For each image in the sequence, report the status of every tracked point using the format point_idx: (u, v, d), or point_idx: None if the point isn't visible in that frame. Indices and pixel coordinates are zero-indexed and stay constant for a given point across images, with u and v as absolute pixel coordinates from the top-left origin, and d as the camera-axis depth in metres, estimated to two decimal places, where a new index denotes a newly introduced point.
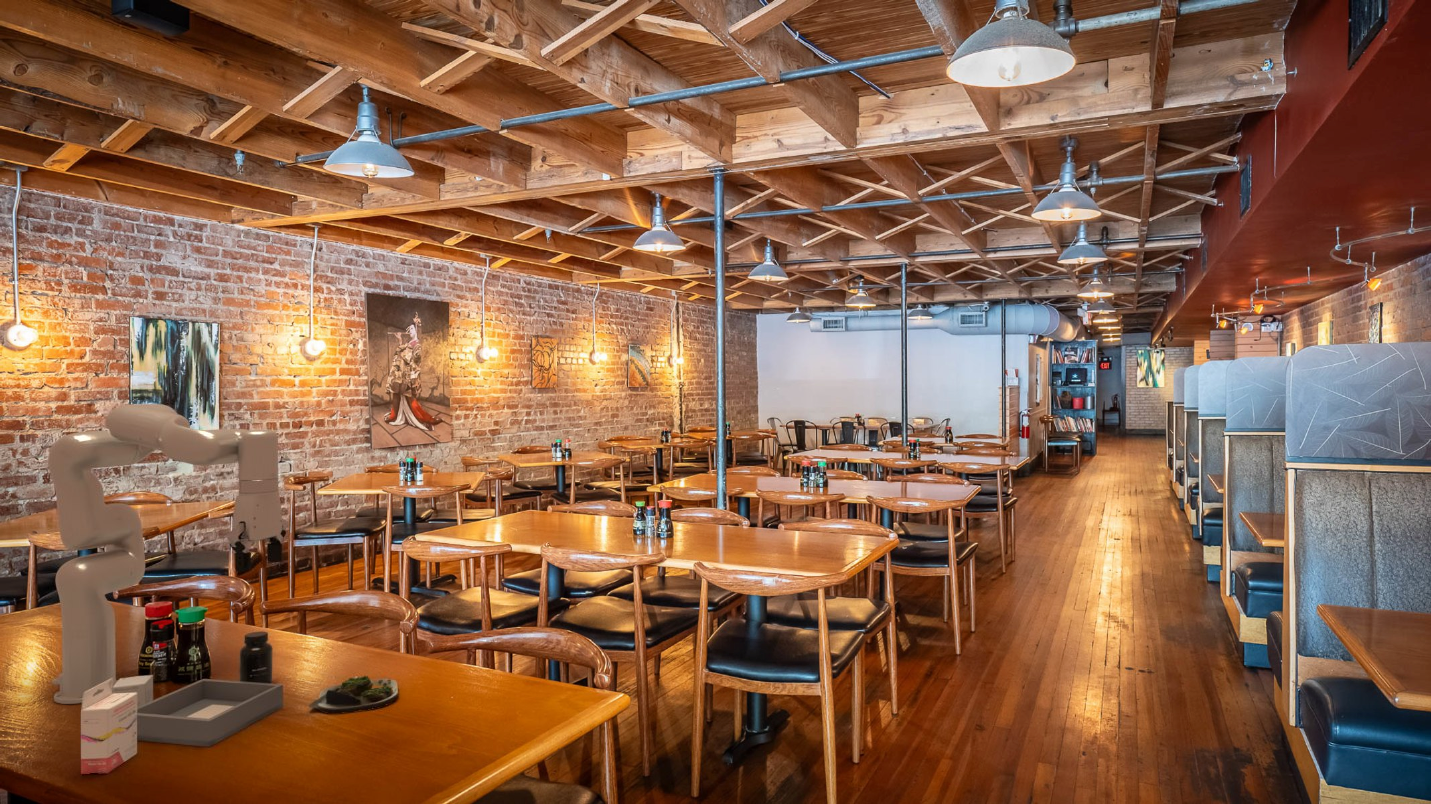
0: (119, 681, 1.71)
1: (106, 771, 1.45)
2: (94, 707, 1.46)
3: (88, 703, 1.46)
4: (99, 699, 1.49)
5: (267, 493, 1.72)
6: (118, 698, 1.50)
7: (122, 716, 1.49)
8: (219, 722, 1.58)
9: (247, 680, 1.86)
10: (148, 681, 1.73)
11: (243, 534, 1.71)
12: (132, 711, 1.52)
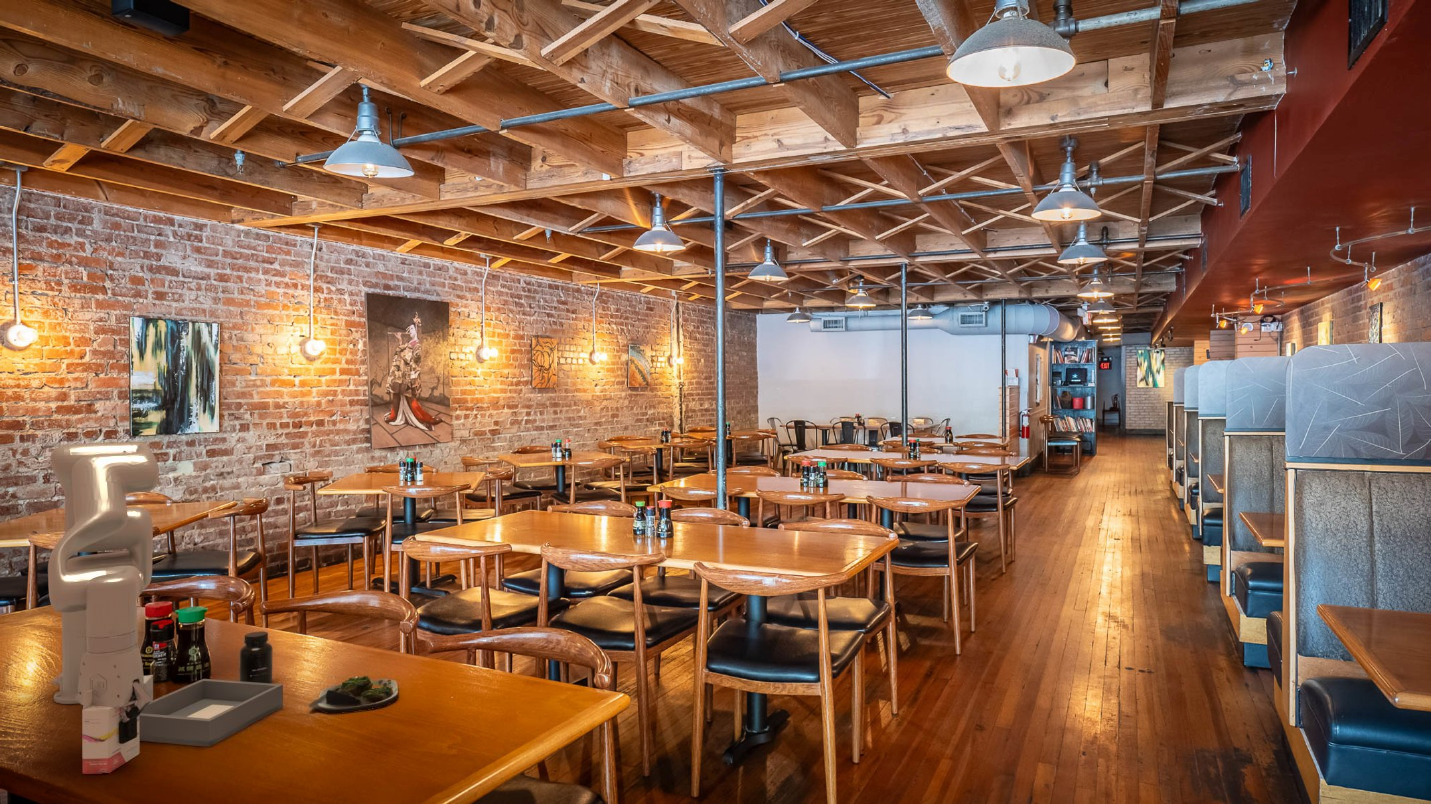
0: None
1: (107, 772, 1.45)
2: (95, 707, 1.46)
3: (90, 703, 1.46)
4: None
5: None
6: None
7: None
8: (219, 722, 1.58)
9: (247, 680, 1.86)
10: (148, 681, 1.73)
11: None
12: None
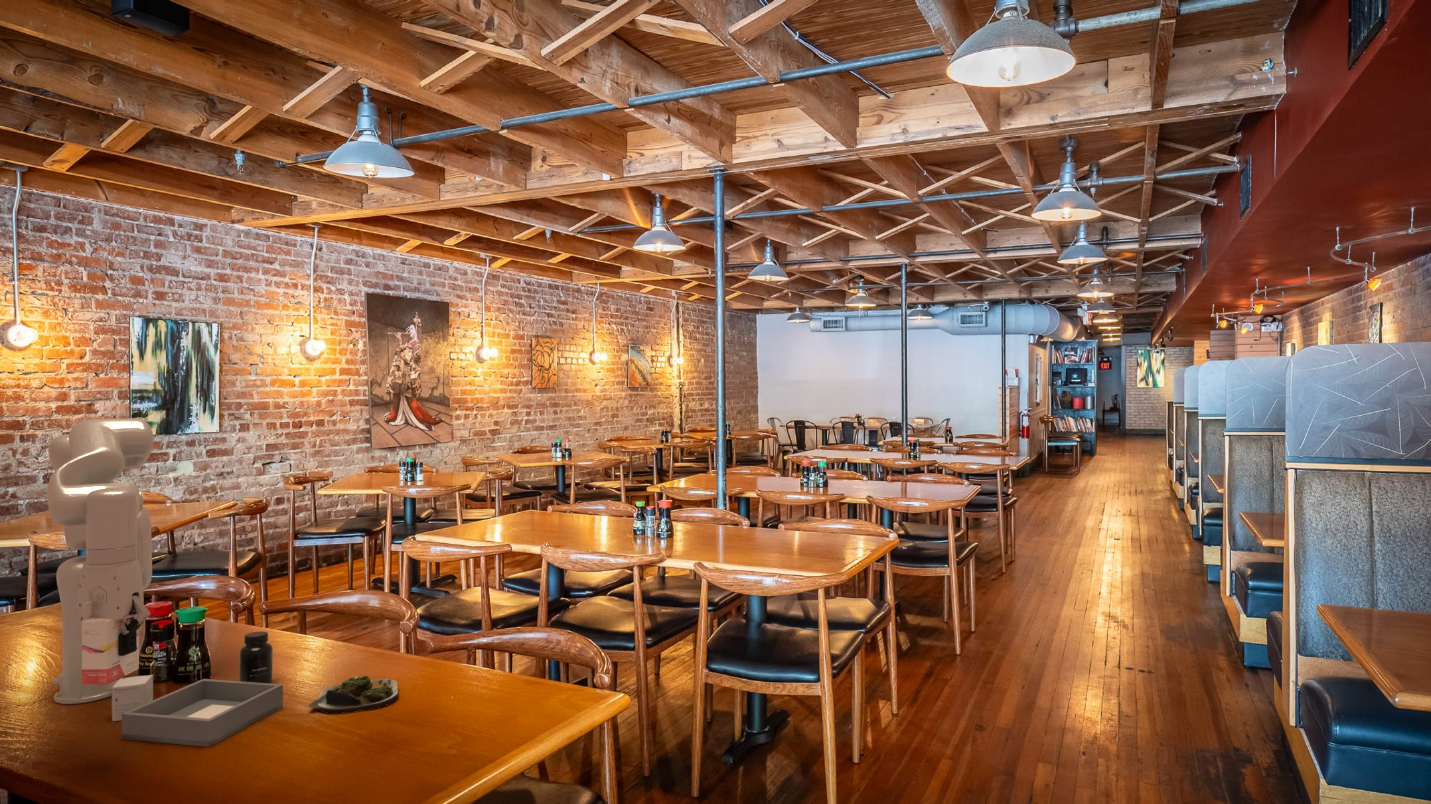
0: (119, 681, 1.71)
1: (106, 683, 1.45)
2: (95, 618, 1.46)
3: (89, 615, 1.47)
4: None
5: None
6: None
7: None
8: (219, 722, 1.58)
9: (247, 680, 1.86)
10: (148, 681, 1.73)
11: None
12: None
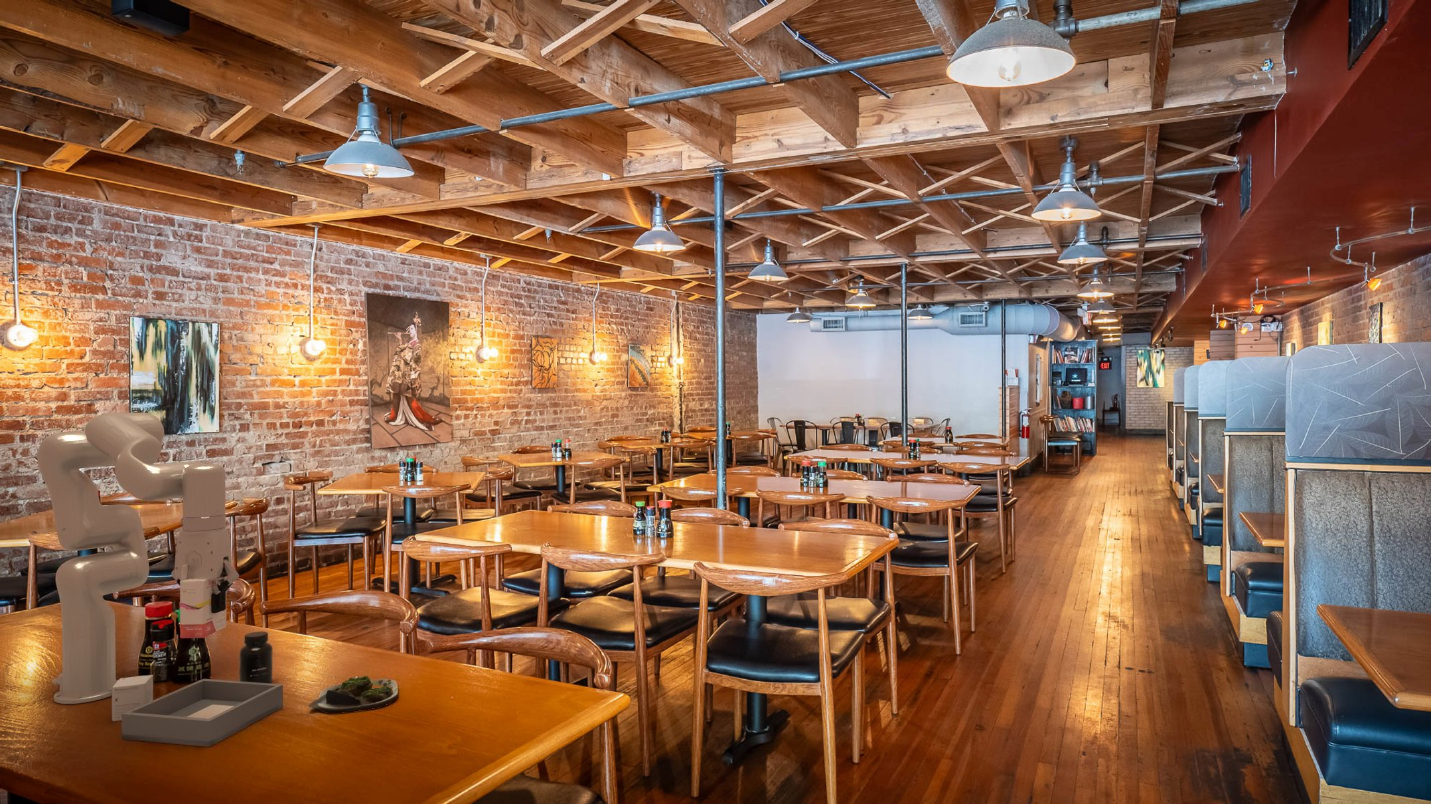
0: (119, 681, 1.71)
1: (202, 636, 1.63)
2: (191, 579, 1.64)
3: (186, 576, 1.65)
4: None
5: None
6: None
7: None
8: (219, 722, 1.58)
9: (247, 680, 1.86)
10: (148, 681, 1.73)
11: None
12: None
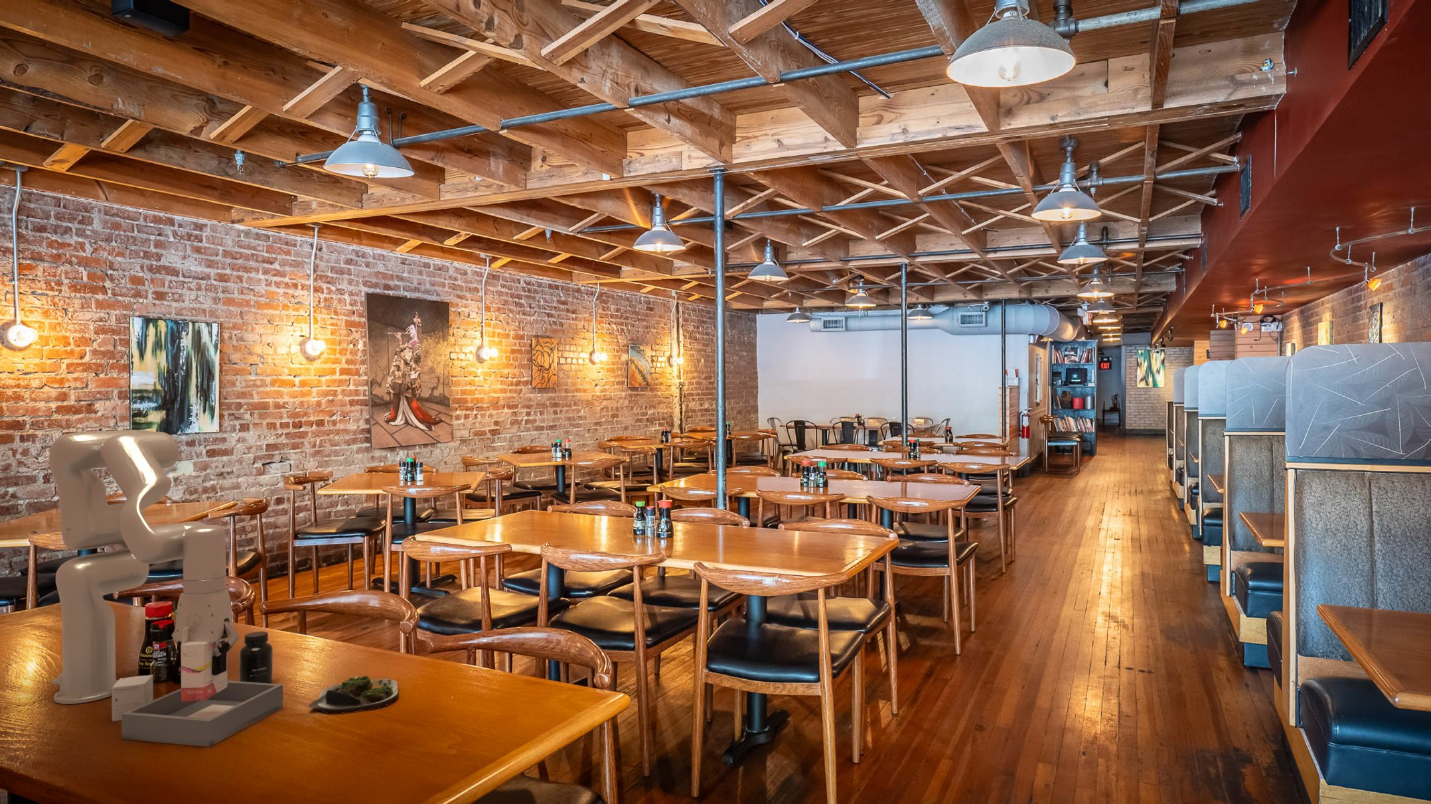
0: (119, 681, 1.71)
1: (203, 699, 1.63)
2: (192, 642, 1.64)
3: (187, 639, 1.65)
4: None
5: None
6: None
7: None
8: (219, 722, 1.58)
9: (248, 680, 1.86)
10: (148, 681, 1.73)
11: None
12: None
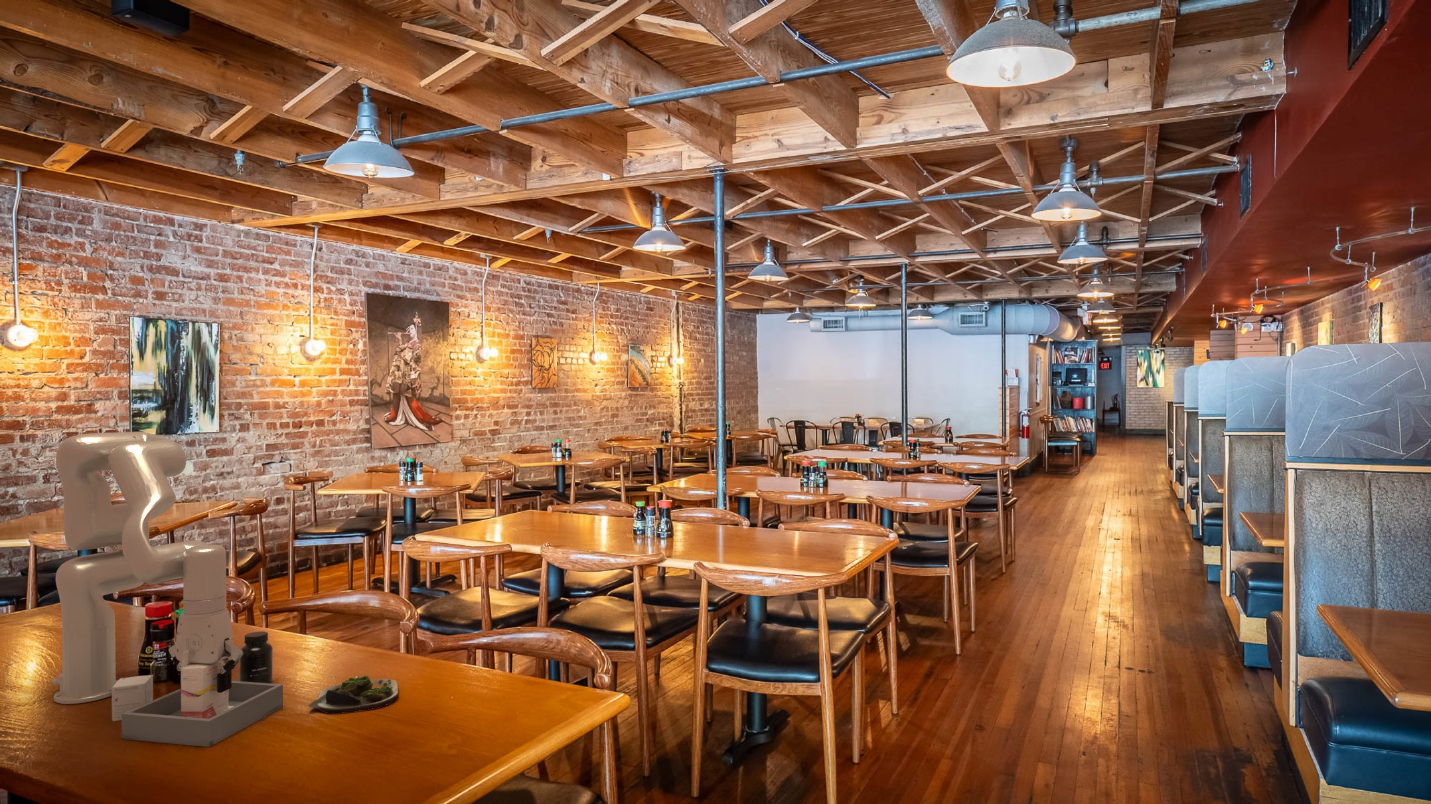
0: (119, 681, 1.71)
1: None
2: (192, 666, 1.64)
3: (187, 662, 1.65)
4: None
5: None
6: None
7: (215, 675, 1.67)
8: (219, 722, 1.58)
9: (247, 680, 1.86)
10: (148, 681, 1.73)
11: None
12: None
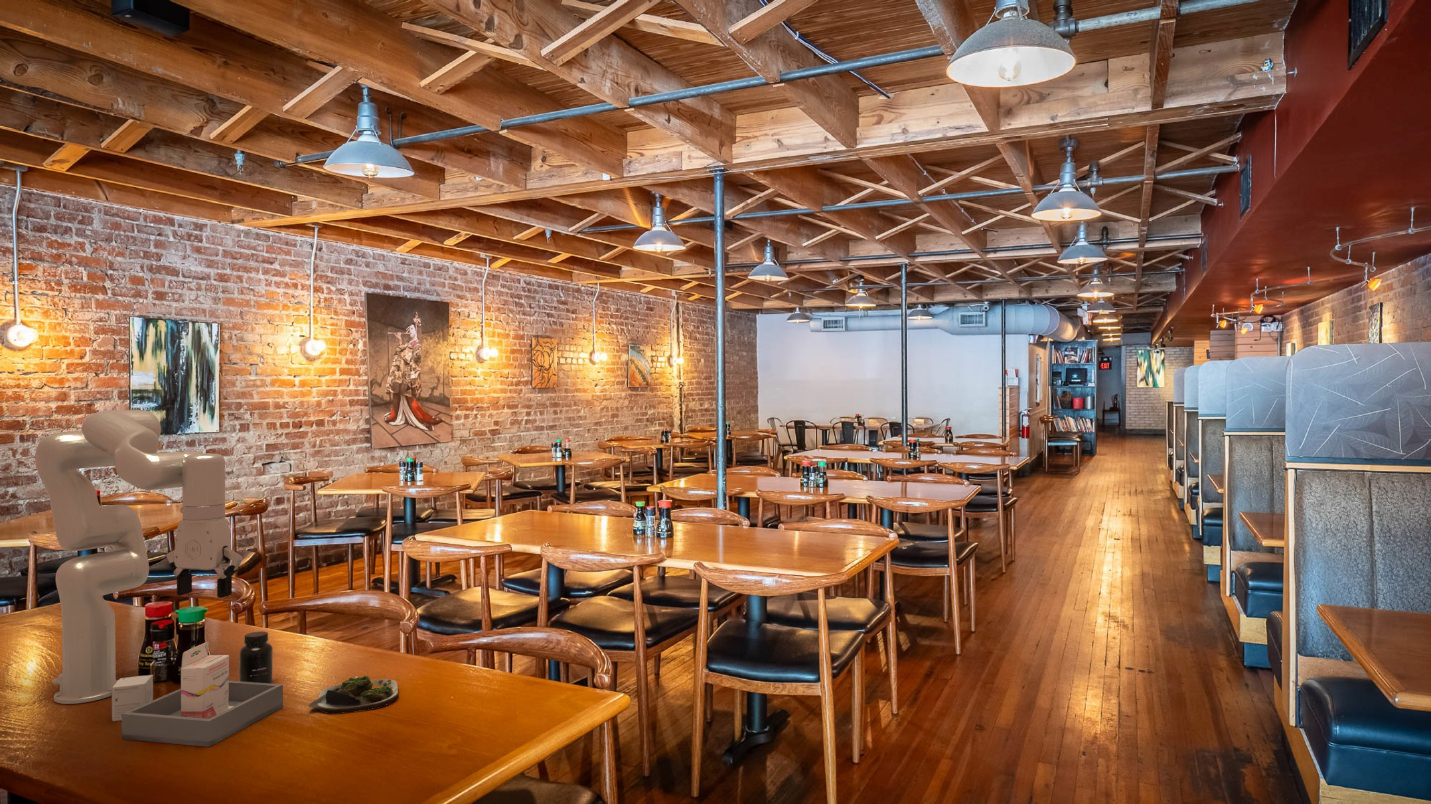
0: (119, 681, 1.71)
1: None
2: (192, 666, 1.64)
3: (187, 662, 1.65)
4: (196, 659, 1.68)
5: None
6: (212, 659, 1.68)
7: (215, 675, 1.67)
8: (219, 722, 1.58)
9: (247, 680, 1.86)
10: (148, 681, 1.73)
11: None
12: (224, 671, 1.70)
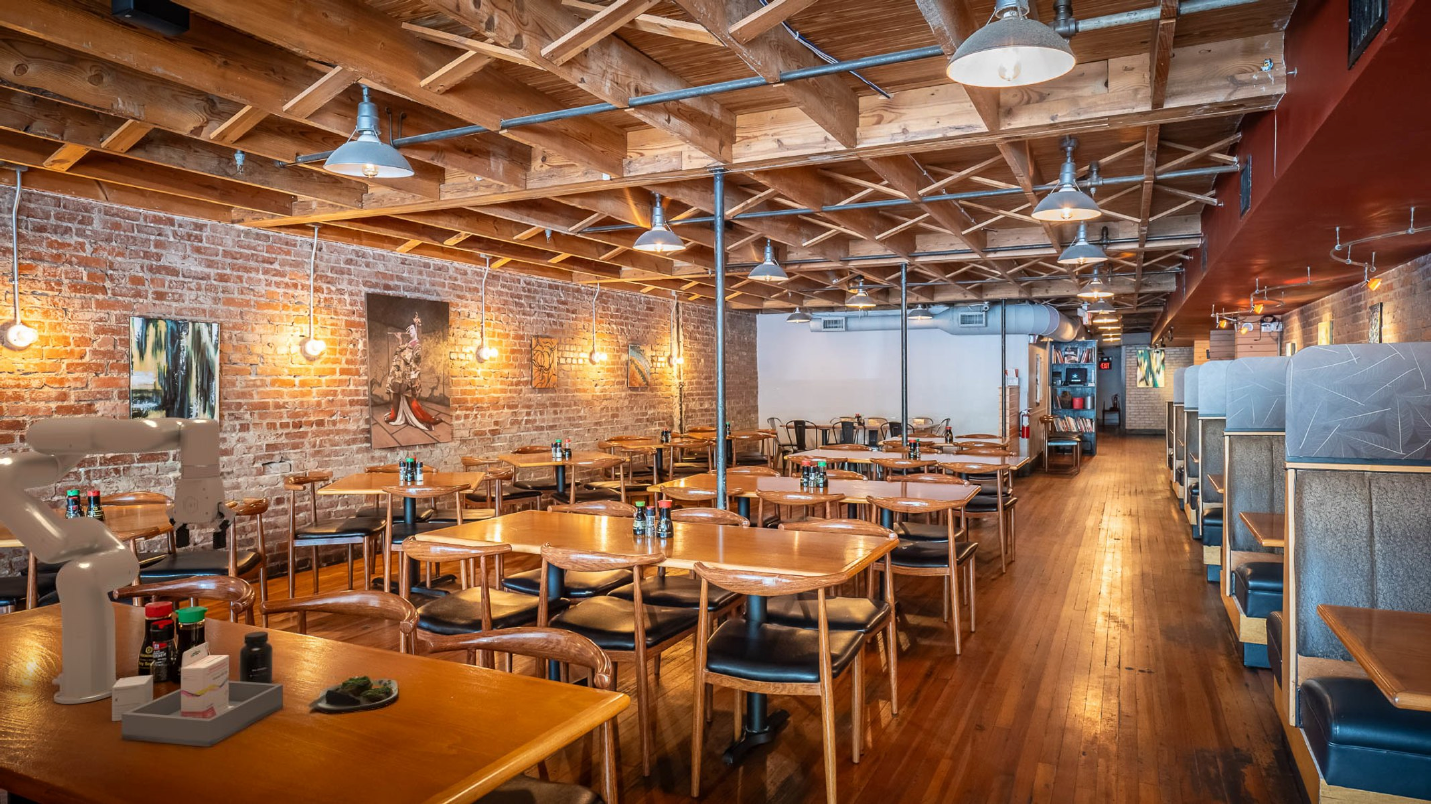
0: (119, 681, 1.71)
1: None
2: (192, 666, 1.64)
3: (187, 662, 1.65)
4: (196, 659, 1.68)
5: None
6: (212, 659, 1.68)
7: (215, 675, 1.67)
8: (219, 722, 1.58)
9: (247, 680, 1.86)
10: (148, 681, 1.73)
11: None
12: (224, 671, 1.70)
